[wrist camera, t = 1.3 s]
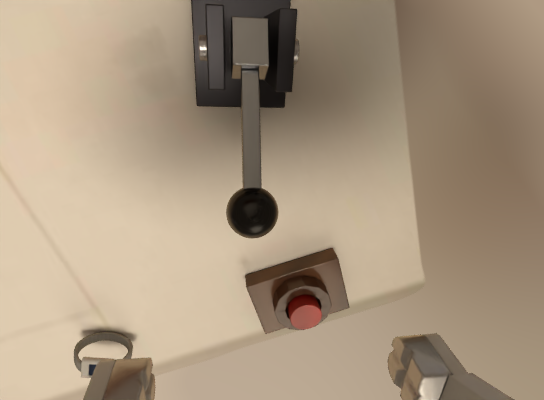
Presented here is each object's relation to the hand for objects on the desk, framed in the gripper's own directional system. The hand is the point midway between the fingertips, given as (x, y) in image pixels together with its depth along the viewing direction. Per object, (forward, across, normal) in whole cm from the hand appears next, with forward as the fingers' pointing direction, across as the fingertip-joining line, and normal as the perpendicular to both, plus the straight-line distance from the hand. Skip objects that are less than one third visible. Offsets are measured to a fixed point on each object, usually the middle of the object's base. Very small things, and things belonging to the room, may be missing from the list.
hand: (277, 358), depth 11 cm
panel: (+25, -7, +18) cm, 31 cm away
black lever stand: (+25, 0, -9) cm, 27 cm away
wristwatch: (+25, +16, +24) cm, 38 cm away
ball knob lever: (+14, 0, -4) cm, 15 cm away
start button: (+21, -7, +18) cm, 29 cm away
